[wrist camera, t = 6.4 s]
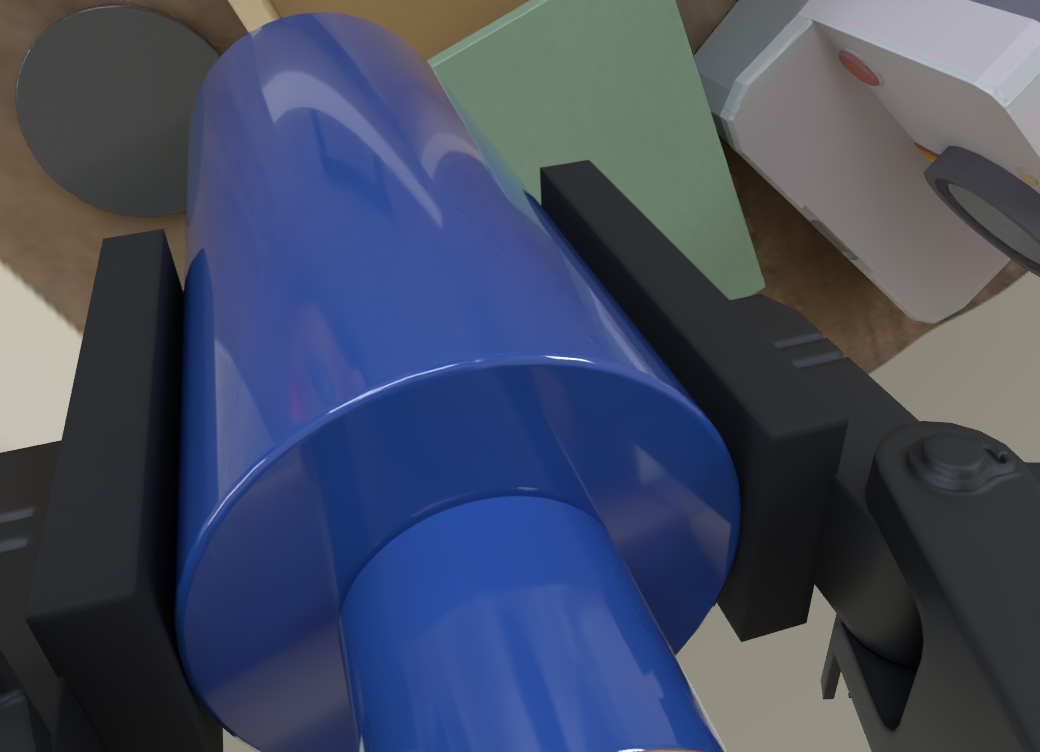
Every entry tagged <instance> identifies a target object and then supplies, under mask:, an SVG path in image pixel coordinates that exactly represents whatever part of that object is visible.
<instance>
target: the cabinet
mask: <svg viewBox="0 0 1040 752" xmlns="http://www.w3.org/2000/svg"><path fill="white" fill-rule="evenodd" d="M427 62H428V63H429V64H430V65H431V67H432V68H433V69H434V70H435V71H436V73H437V74H438V75H439V77H440V78H441V79H442V80H443V82H444V83H445V84H446V85H447V87H448V88H449V89H450V91H451V92H452V93H453V94H454V96H455V97H456V98H457V99H458V101H459V102H460V103H461V104H462V106H463V107H464V108H465V110H466V111H467V112H468V113H469V115H470V116H471V117H472V118H473V120H474V121H475V122H476V124H477V125H478V126H479V127H480V129H481V130H482V131H483V132H484V134H485V135H486V136H487V138H488V139H489V140H490V141H491V143H492V144H493V145H494V146H495V148H496V149H497V150H498V151H499V153H500V154H501V155H502V157H503V158H504V159H505V160H506V162H507V163H508V164H509V165H510V167H511V168H512V169H513V171H514V172H515V173H516V174H517V176H518V177H519V178H520V179H521V181H522V182H523V183H524V184H525V186H526V187H527V188H528V190H529V191H530V192H531V193H532V195H533V196H534V197H535V198H536V200H537V201H538V202H539V204H540V205H541V186H540V168H541V167H547V166H553V165H560V164H566V163H572V162H578V161H584V160H590V161H591V162H592V163H593V164H594V165H595V166H596V167H597V168H598V169H599V170H600V171H601V172H602V173H603V174H604V175H605V176H606V177H607V178H608V179H609V180H610V181H611V182H612V183H613V184H614V185H615V186H616V187H617V188H618V189H619V190H620V191H621V192H622V193H623V194H624V195H625V196H626V197H627V198H628V199H629V200H630V201H631V202H632V203H633V204H634V205H635V206H636V207H637V208H638V209H639V210H640V211H641V212H642V213H643V214H644V215H645V216H646V217H647V218H648V219H649V220H650V221H651V222H652V223H653V224H654V225H655V226H656V227H657V228H658V229H659V230H660V231H661V232H662V233H663V234H664V235H665V236H666V237H667V238H668V239H669V240H670V241H671V242H672V243H673V244H674V245H675V246H676V247H677V248H678V249H679V250H680V251H681V252H682V253H683V254H684V255H685V256H686V257H687V258H688V259H689V260H690V261H691V262H692V263H693V264H694V265H695V266H696V267H697V268H698V269H699V270H700V271H701V272H702V273H703V274H704V275H705V276H706V277H707V278H708V279H709V280H710V281H711V282H712V283H713V284H714V285H715V286H716V287H717V288H718V289H719V290H720V291H721V292H722V293H723V294H724V295H725V296H726V297H727V298H728V299H729V300H733V299H738V298H743V297H748V296H751V295H753V294H755V293H757V292H758V291H760V290H762V289H764V288H765V287H766V285H765V282H764V279H763V276H762V273H761V269H760V266H759V263H758V260H757V257H756V254H755V250H754V247H753V244H752V241H751V238H750V235H749V232H748V228H747V225H746V222H745V219H744V216H743V213H742V209H741V206H740V203H739V200H738V197H737V194H736V190H735V187H734V184H733V181H732V178H731V175H730V171H729V168H728V165H727V162H726V159H725V156H724V153H723V149H722V146H721V143H720V140H719V137H718V134H717V130H716V127H715V124H714V121H713V118H712V115H711V111H710V108H709V105H708V102H707V99H706V96H705V93H704V89H703V86H702V83H701V80H700V77H699V74H698V70H697V67H696V64H695V61H694V58H693V55H692V51H691V48H690V45H689V42H688V39H687V36H686V33H685V29H684V26H683V23H682V20H681V17H680V14H679V10H678V7H677V4H676V1H675V0H530V1H528V2H527V3H525V4H523V5H521V6H520V7H518V8H516V9H515V10H513V11H511V12H509V13H508V14H506V15H504V16H503V17H501V18H499V19H497V20H496V21H494V22H492V23H491V24H489V25H487V26H485V27H484V28H482V29H480V30H478V31H477V32H475V33H473V34H472V35H470V36H468V37H466V38H465V39H463V40H461V41H460V42H458V43H456V44H454V45H453V46H451V47H449V48H448V49H446V50H444V51H442V52H441V53H439V54H437V55H436V56H434V57H432V58H430V59H429V60H427Z"/></svg>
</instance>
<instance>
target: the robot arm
mask: <svg viewBox="0 0 1040 752" xmlns="http://www.w3.org/2000/svg"><path fill="white" fill-rule="evenodd" d="M540 186H541V206H542V207H543V209H544V210H545V211H546V212H547V214H548V215H549V216H550V218H551V219H552V220H553V221H554V223H555V224H556V225H557V226H558V228H559V229H560V230H561V231H562V233H563V234H564V235H565V237H566V238H567V239H568V240H569V242H570V243H571V244H572V245H573V247H574V248H575V249H576V251H577V252H578V253H579V254H580V256H581V257H582V258H583V259H584V261H585V262H586V263H587V265H588V266H589V267H590V268H591V270H592V271H593V272H594V273H595V275H596V276H597V277H598V278H599V280H600V281H601V282H602V284H603V285H604V286H605V287H606V289H607V290H608V291H609V292H610V294H611V295H612V296H613V298H614V299H615V300H616V301H617V303H618V304H619V305H620V306H621V308H622V309H623V310H624V312H625V313H626V314H627V315H628V317H629V318H630V319H631V320H632V322H633V323H634V324H635V325H636V327H637V328H638V329H639V331H640V332H641V333H642V334H643V336H644V337H645V338H646V339H647V341H648V342H649V343H650V345H651V346H652V347H653V348H654V350H655V351H656V352H657V353H658V355H659V356H660V357H661V359H662V360H663V361H664V362H665V364H666V365H667V366H668V367H669V369H670V370H671V371H672V372H673V374H674V375H675V376H676V378H677V379H678V380H679V381H680V383H681V384H682V385H683V386H684V388H685V389H686V390H687V392H688V393H689V394H690V395H691V397H692V398H693V399H694V400H695V402H696V403H697V404H698V405H699V407H700V408H701V409H702V411H703V412H704V413H705V414H706V416H707V417H708V418H709V419H710V421H711V422H712V423H713V425H714V426H715V427H716V428H717V430H718V431H719V433H720V435H721V437H722V438H723V440H724V442H725V444H726V446H727V448H728V449H729V451H730V453H731V456H732V459H733V462H734V465H735V468H736V471H737V475H738V478H739V486H740V494H741V502H742V521H741V534H740V539H739V544H738V549H737V554H736V558H735V561H734V563H733V566H732V569H731V572H730V574H729V577H728V580H727V582H726V584H725V586H724V588H723V590H722V592H721V594H720V596H719V598H718V600H717V604H718V605H719V607H720V608H721V610H722V611H723V613H724V615H725V617H726V618H727V620H728V621H729V623H730V625H731V626H732V628H733V629H734V631H735V633H736V634H737V636H738V637H739V639H740V640H741V642H743V641H747V640H750V639H753V638H757V637H760V636H764V635H767V634H770V633H774V632H777V631H780V630H784V629H788V628H791V627H794V626H798V625H801V624H804V623H806V622H807V617H808V613H809V608H810V603H811V598H812V594H813V589H814V584H815V585H816V587H817V588H818V589H819V590H820V592H821V593H822V594H823V596H824V597H825V598H826V600H827V601H828V602H829V604H830V605H831V606H832V608H833V609H834V610H835V612H836V613H837V614H836V618H835V622H834V627H833V631H832V635H831V639H830V644H829V648H828V652H827V656H826V661H825V665H824V669H823V673H822V677H821V686H822V694H823V699H834V696H835V692H836V688H837V684H838V680H839V676H840V672H842V674H843V677H844V680H845V682H846V685H847V688H848V690H849V693H848V694H849V698H852V701H853V704H854V706H855V709H856V711H857V714H858V717H859V719H860V722H861V724H862V727H863V730H864V733H865V735H866V738H867V740H868V743H869V746H870V748H871V751H872V752H1040V463H1027V462H1023V461H1022V460H1021V459H1020V458H1019V457H1018V456H1017V455H1016V454H1015V453H1014V452H1013V451H1012V450H1011V449H1010V448H1008V447H1007V446H1006V445H1005V444H1003V443H1001V442H999V441H998V440H996V439H994V438H992V437H990V436H988V435H986V434H984V433H983V432H980V431H978V430H974V429H971V428H967V427H963V426H960V425H956V424H953V423H944V422H943V423H942V422H928V421H921V422H920V421H918V420H917V419H916V418H915V417H914V416H913V415H912V414H911V413H910V412H909V411H907V410H906V409H905V408H904V407H903V406H902V405H901V404H900V403H899V402H897V401H896V400H895V399H894V398H893V397H892V396H891V395H890V394H888V392H886V391H885V390H884V389H883V388H882V387H881V386H880V385H879V384H878V383H876V382H875V381H874V380H873V379H872V378H871V377H870V376H869V375H868V374H866V373H865V372H864V371H863V370H862V369H861V368H860V367H859V366H858V365H857V364H855V363H854V362H853V361H852V360H851V359H850V358H849V357H847V358H844V356H843V352H842V351H841V350H840V349H839V348H838V347H837V346H835V345H834V344H833V343H832V342H831V341H830V340H829V339H828V338H825V339H823V336H822V333H821V332H820V331H819V330H818V329H817V328H816V327H814V326H813V325H812V324H811V323H810V322H809V321H808V320H807V319H806V318H805V317H803V316H802V315H801V314H800V313H799V312H798V311H796V310H794V309H792V308H790V307H788V306H786V305H783V304H781V303H779V302H777V301H775V300H772V299H770V298H768V297H766V296H764V295H761V294H758V295H753V296H748V297H743V298H738V299H733V300H729V299H728V298H727V297H726V296H725V295H724V294H723V293H722V292H721V291H720V290H719V289H718V288H717V287H716V286H715V285H714V284H713V283H712V282H711V281H710V280H709V279H708V278H707V277H706V276H705V275H704V274H703V273H702V272H701V271H700V270H699V269H698V268H697V267H696V266H695V265H694V264H693V263H692V262H691V261H690V260H689V259H688V258H687V257H686V256H685V255H684V254H683V253H682V252H681V251H680V250H679V249H678V248H677V247H676V246H675V245H674V244H673V243H672V242H671V241H670V240H669V239H668V238H667V237H666V236H665V235H664V234H663V233H662V232H661V231H660V230H659V229H658V228H657V227H656V226H655V225H654V224H653V223H652V222H651V221H650V220H649V219H648V218H647V217H646V216H645V215H644V214H643V213H642V212H641V211H640V210H639V209H638V208H637V207H636V206H635V205H634V204H633V203H632V202H631V201H630V200H629V199H628V198H627V197H626V196H625V195H624V194H623V193H622V192H621V191H620V190H619V189H618V188H617V187H616V186H615V185H614V184H613V183H612V182H611V181H610V180H609V179H608V178H607V177H606V176H605V175H604V174H603V173H602V172H601V171H600V170H599V169H598V168H597V167H596V166H595V165H594V164H593V163H592V162H591V161H590V160H584V161H578V162H572V163H566V164H560V165H553V166H547V167H541V168H540ZM182 326H183V290H182V287H181V284H180V281H179V278H178V274H177V271H176V268H175V265H174V261H173V258H172V255H171V252H170V248H169V245H168V242H167V239H166V235H165V232H164V229H160V230H154V231H148V232H142V233H136V234H129V235H123V236H117V237H111V238H105V239H103V242H102V247H101V252H100V257H99V262H98V267H97V271H96V276H95V281H94V286H93V291H92V296H91V301H90V305H89V310H88V315H87V320H86V325H85V330H84V334H83V339H82V345H81V349H80V354H79V359H78V364H77V368H76V373H75V378H74V383H73V388H72V393H71V397H70V402H69V408H68V412H67V417H66V422H65V427H64V431H63V436H62V440H61V441H56V442H51V443H47V444H42V445H37V446H32V447H27V448H22V449H17V450H12V451H7V452H3V453H0V752H223V727H221V726H220V725H219V724H218V723H217V722H216V721H215V720H214V718H213V717H212V716H211V715H210V714H209V712H208V711H207V710H206V709H205V708H204V707H203V705H202V704H201V703H200V701H199V700H198V698H197V696H196V694H195V693H194V691H193V689H192V687H191V685H190V684H189V682H188V680H187V678H186V676H185V674H184V671H183V668H182V665H181V662H180V659H179V656H178V652H177V649H176V640H175V630H174V620H173V619H174V586H175V554H176V521H177V489H178V456H179V424H180V391H181V359H182Z"/></svg>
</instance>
